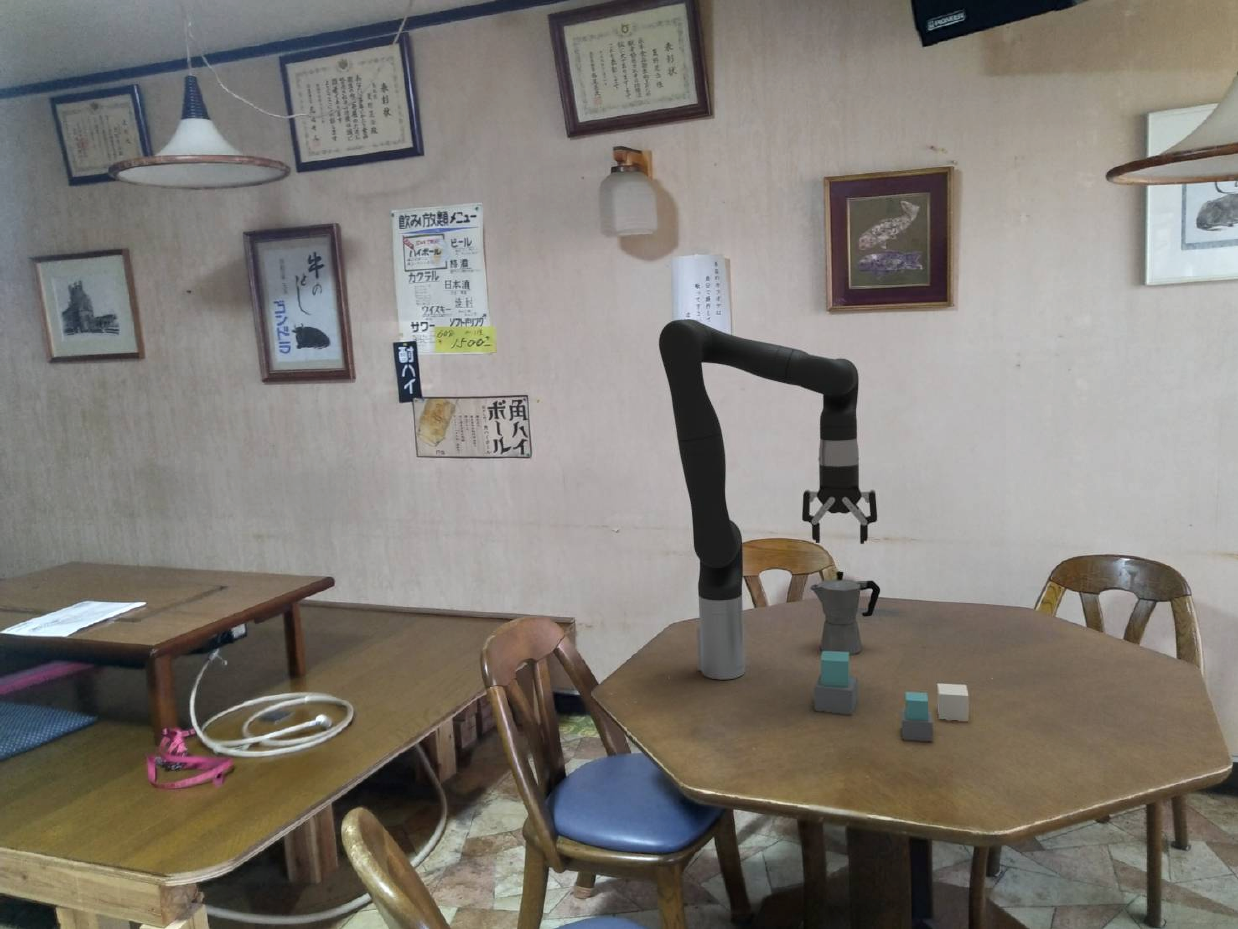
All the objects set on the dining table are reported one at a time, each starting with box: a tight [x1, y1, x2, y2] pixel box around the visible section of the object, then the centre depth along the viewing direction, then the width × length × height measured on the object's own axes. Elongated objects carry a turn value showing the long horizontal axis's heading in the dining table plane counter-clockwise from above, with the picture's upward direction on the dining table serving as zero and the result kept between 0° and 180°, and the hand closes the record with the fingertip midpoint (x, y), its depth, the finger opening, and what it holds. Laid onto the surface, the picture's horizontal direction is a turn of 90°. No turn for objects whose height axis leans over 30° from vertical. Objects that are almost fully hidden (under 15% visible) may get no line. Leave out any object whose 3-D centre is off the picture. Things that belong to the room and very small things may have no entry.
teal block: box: [820, 650, 851, 687], centre depth 169 cm, size 5×5×5 cm
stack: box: [901, 691, 934, 742], centre depth 155 cm, size 5×5×7 cm
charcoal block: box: [813, 673, 859, 716], centre depth 169 cm, size 7×7×5 cm
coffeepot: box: [809, 571, 881, 656], centre depth 198 cm, size 15×9×18 cm, turn 87°
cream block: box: [937, 683, 970, 722], centre depth 163 cm, size 5×5×5 cm
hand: (839, 542), depth 175 cm, fingers open, 8 cm apart
